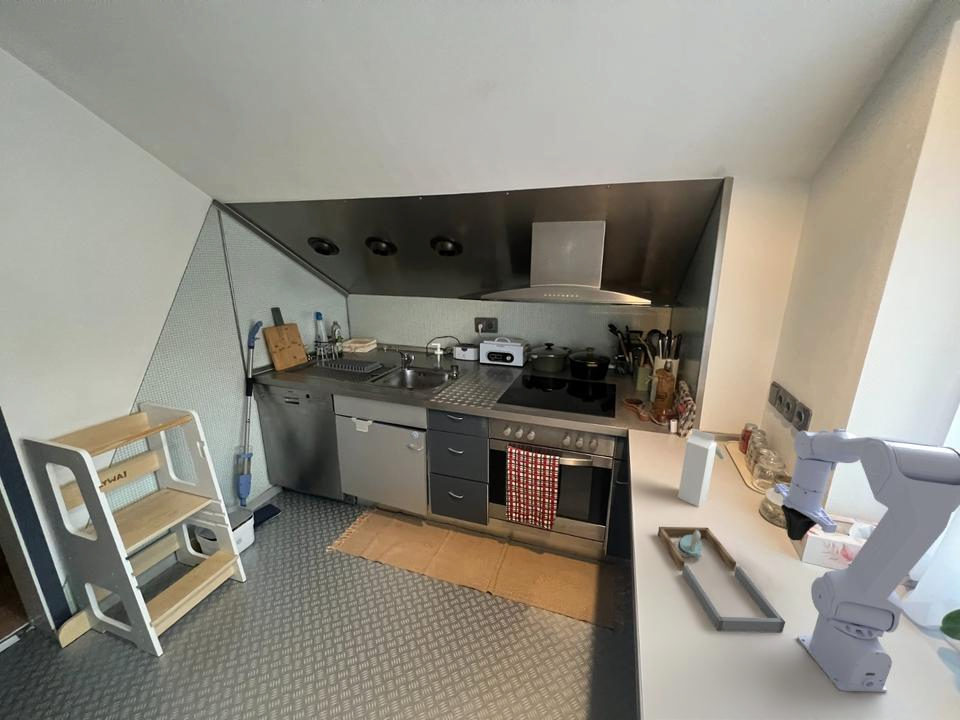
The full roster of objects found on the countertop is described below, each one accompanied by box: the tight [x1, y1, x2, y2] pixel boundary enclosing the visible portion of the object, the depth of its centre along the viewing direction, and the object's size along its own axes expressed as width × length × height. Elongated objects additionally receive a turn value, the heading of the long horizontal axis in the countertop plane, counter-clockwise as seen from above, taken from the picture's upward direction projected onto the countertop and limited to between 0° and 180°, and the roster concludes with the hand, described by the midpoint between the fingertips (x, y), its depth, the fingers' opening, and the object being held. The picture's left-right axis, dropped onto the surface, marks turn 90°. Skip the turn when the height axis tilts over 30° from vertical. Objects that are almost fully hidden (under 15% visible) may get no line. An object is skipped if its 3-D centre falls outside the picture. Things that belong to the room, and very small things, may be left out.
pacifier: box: [674, 530, 703, 558], centre depth 95 cm, size 7×6×6 cm
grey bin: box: [681, 564, 786, 633], centre depth 81 cm, size 14×13×2 cm
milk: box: [677, 428, 718, 508], centre depth 113 cm, size 6×6×22 cm
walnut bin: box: [657, 526, 737, 572], centre depth 95 cm, size 12×13×2 cm
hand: (794, 538), depth 87 cm, fingers closed
